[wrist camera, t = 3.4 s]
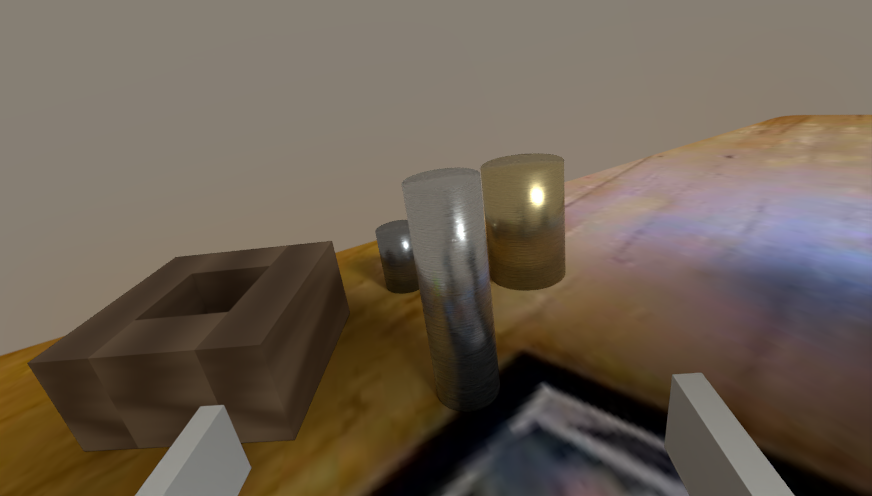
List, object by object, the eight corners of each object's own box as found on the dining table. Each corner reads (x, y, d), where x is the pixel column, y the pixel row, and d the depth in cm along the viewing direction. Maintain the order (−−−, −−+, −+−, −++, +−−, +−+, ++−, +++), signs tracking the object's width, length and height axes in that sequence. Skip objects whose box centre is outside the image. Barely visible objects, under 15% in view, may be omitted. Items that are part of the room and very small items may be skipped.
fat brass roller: (557, 252, 38) (555, 150, 34) (573, 286, 32) (572, 168, 29) (488, 259, 38) (479, 159, 35) (492, 293, 33) (482, 179, 29)
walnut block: (349, 312, 33) (331, 240, 31) (294, 439, 22) (260, 344, 20) (204, 324, 34) (175, 257, 32) (84, 451, 23) (27, 363, 21)
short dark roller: (429, 271, 38) (420, 217, 36) (426, 291, 35) (416, 234, 33) (389, 275, 38) (379, 222, 36) (383, 295, 35) (371, 238, 33)
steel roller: (497, 364, 25) (478, 164, 21) (502, 409, 22) (481, 185, 17) (438, 368, 26) (406, 173, 21) (435, 413, 23) (396, 194, 18)
